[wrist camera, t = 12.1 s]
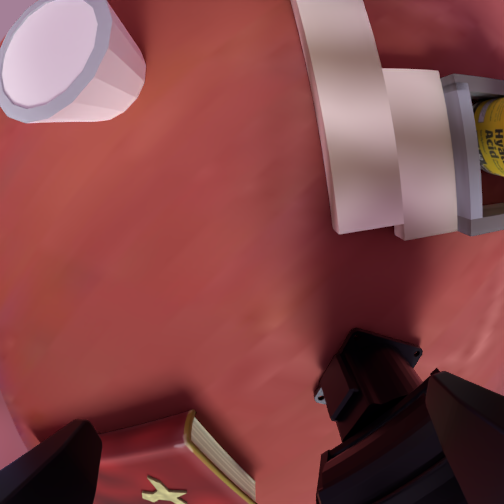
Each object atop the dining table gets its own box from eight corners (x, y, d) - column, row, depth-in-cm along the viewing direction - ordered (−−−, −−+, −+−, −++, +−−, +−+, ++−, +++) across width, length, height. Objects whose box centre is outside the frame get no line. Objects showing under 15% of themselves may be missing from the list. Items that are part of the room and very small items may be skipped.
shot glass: (100, 17, 15) (47, -27, 8) (178, 56, 16) (143, 8, 9) (43, 103, 17) (-26, 91, 10) (114, 151, 18) (50, 150, 11)
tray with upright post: (533, 210, 18) (654, 254, 6) (334, 245, 19) (452, 375, 7) (490, -11, 13) (589, -58, 1) (278, -40, 14) (304, -187, 1)
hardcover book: (41, 440, 26) (26, 464, 21) (193, 403, 23) (185, 442, 19) (109, 500, 28) (100, 524, 24) (260, 479, 26) (261, 512, 22)
